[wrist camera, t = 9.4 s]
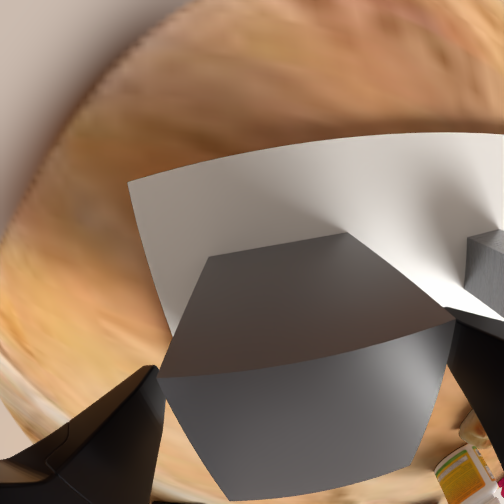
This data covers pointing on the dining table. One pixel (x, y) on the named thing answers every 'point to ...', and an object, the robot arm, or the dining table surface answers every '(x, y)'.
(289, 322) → the dark gray block
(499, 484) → the pepper mill
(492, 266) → the steel post
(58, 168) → the dining table surface
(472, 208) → the board
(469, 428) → the pastry
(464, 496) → the supplement bottle
